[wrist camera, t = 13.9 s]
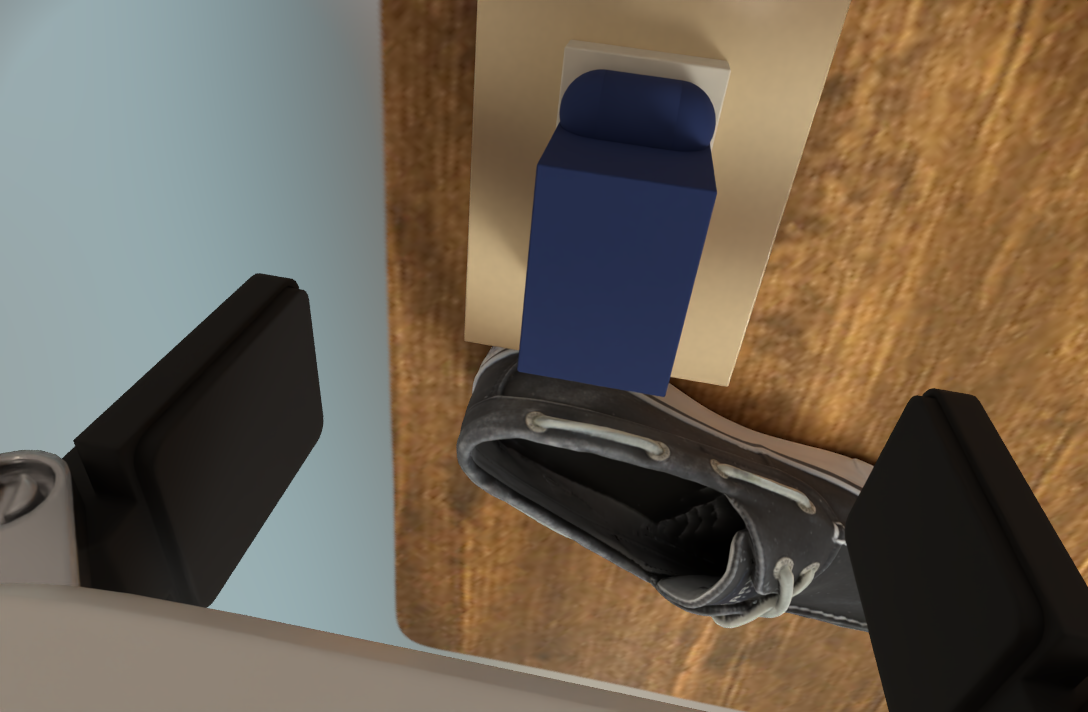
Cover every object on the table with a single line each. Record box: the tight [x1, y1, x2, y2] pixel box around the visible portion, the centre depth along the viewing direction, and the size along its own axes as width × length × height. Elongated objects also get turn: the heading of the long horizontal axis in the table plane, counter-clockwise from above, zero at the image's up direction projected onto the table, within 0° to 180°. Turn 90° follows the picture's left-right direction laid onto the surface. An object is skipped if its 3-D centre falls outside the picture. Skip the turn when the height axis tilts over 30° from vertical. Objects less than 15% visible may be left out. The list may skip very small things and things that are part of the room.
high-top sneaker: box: [517, 40, 731, 397], centre depth 19 cm, size 8×4×6 cm, turn 174°
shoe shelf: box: [464, 0, 851, 387], centre depth 23 cm, size 14×10×4 cm
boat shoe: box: [457, 346, 874, 632], centre depth 29 cm, size 24×9×8 cm, turn 59°
